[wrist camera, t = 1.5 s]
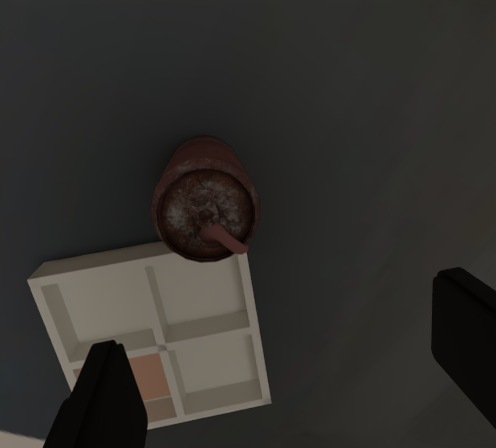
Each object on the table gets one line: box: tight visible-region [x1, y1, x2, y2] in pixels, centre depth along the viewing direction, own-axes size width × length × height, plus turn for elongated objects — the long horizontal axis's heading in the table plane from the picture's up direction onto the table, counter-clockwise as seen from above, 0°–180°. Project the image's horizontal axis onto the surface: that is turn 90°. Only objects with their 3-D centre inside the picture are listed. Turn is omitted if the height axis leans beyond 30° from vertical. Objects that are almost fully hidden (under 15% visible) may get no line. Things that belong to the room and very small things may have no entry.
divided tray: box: [27, 241, 271, 430], centre depth 36 cm, size 18×18×4 cm
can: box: [151, 136, 260, 263], centre depth 26 cm, size 6×6×14 cm
